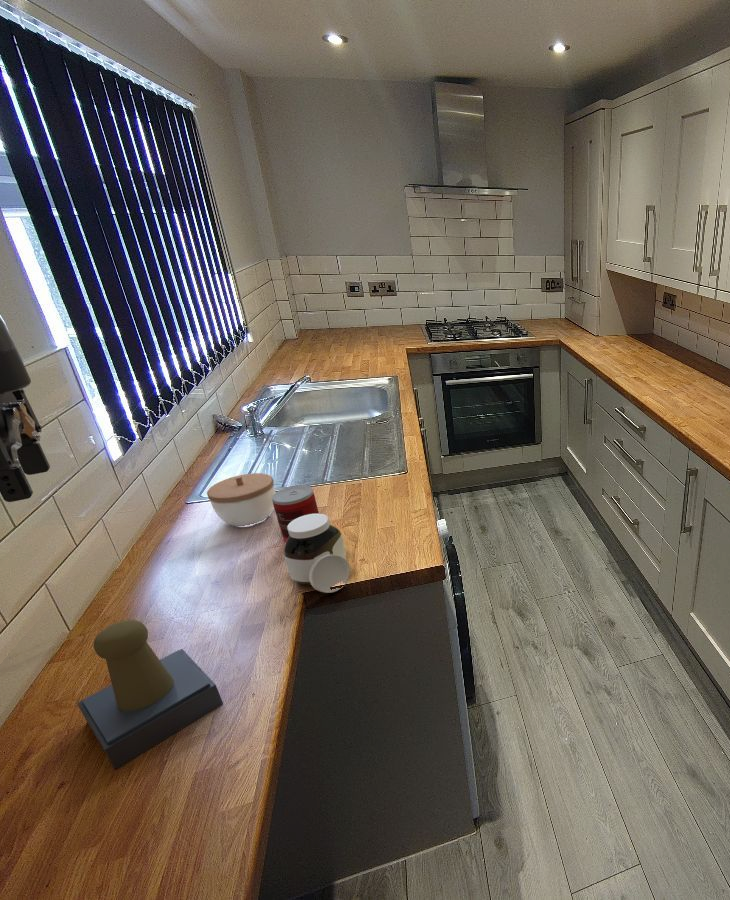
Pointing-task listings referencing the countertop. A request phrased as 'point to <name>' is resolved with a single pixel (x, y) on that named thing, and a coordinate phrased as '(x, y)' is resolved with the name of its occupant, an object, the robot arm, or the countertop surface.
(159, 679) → the cork
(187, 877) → the countertop surface
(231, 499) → the lidded bowl
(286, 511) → the canned food
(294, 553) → the spread jar
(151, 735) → the rectangular box
